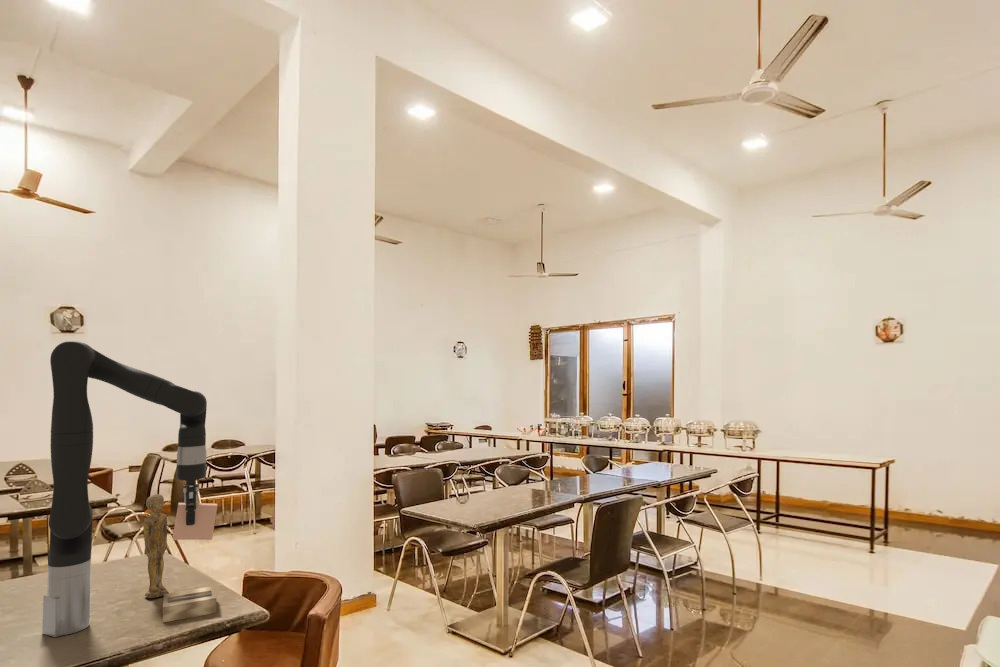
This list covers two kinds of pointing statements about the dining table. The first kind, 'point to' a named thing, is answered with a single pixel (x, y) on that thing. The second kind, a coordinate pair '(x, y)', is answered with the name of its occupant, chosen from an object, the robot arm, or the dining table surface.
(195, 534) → the pink square prism
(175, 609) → the dispenser
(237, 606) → the dining table surface
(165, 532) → the sculpture
